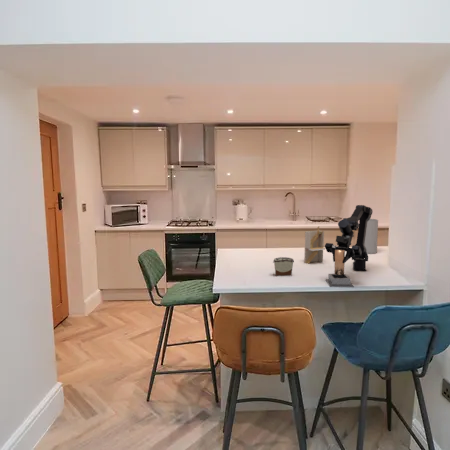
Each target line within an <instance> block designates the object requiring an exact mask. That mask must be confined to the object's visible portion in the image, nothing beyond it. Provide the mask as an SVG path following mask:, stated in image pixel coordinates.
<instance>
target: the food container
mask: <svg viewBox="0 0 450 450" xmlns="http://www.w3.org/2000/svg"><path fill="white" fill-rule="evenodd" d="M294 263H295V260H294V258H291V257H286V256H285V257H284V256H280V257H276V258H274V259H273V262H272V264H274V273H275V277H290V276H291V277H292V274H293V267H294Z"/></svg>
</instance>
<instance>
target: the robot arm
mask: <svg viewBox="0 0 450 450" xmlns="http://www.w3.org/2000/svg"><path fill="white" fill-rule="evenodd" d="M372 215H373V209H372V207H370V206H366V205H364V204H359V205H358V204H357V205H355V209H354V211H353V212H352V214H351V215H350V217H347V218H346V217H344V218H343V219H341V220H339V221H338V223H337V225H338V228H339V231H340V233H341V235H336V237H335V243H336V245H335V244H334V243H330V242H326V243H324V248H325V250H326V252H327V253H331V254H332V261H333V263H335V249H343V250H345V258H344V261H343V263H344V264H345V263H346V262H347V261H349V260H350V259H351V261H353V262H352V269H353V270H354V271H355V272H366V271H367V269H366V267H367V266H366V264H367V263H366V262H369V254H367V252H366V247H365V245H364V243H365V236H366V228H367V222H368V221H369V219H372V218H371V217H372ZM357 230H358V231H357ZM354 231H357V237H356V243H355V244H354V245H352V240H353V238H354V233H355V232H354ZM351 245H352V246H351Z"/></svg>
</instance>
